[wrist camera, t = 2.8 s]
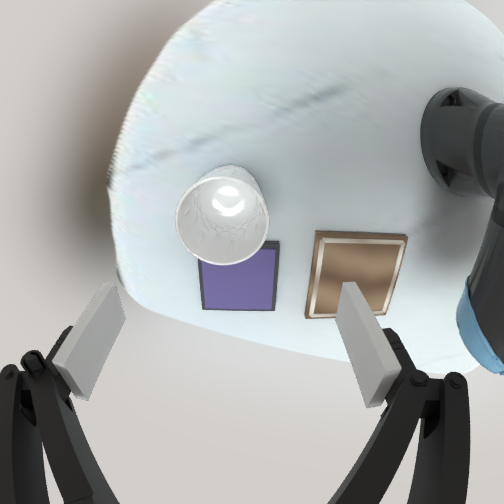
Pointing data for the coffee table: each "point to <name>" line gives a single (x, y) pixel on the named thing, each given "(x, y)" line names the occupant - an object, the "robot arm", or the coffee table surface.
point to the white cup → (223, 217)
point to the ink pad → (242, 282)
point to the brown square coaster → (353, 270)
